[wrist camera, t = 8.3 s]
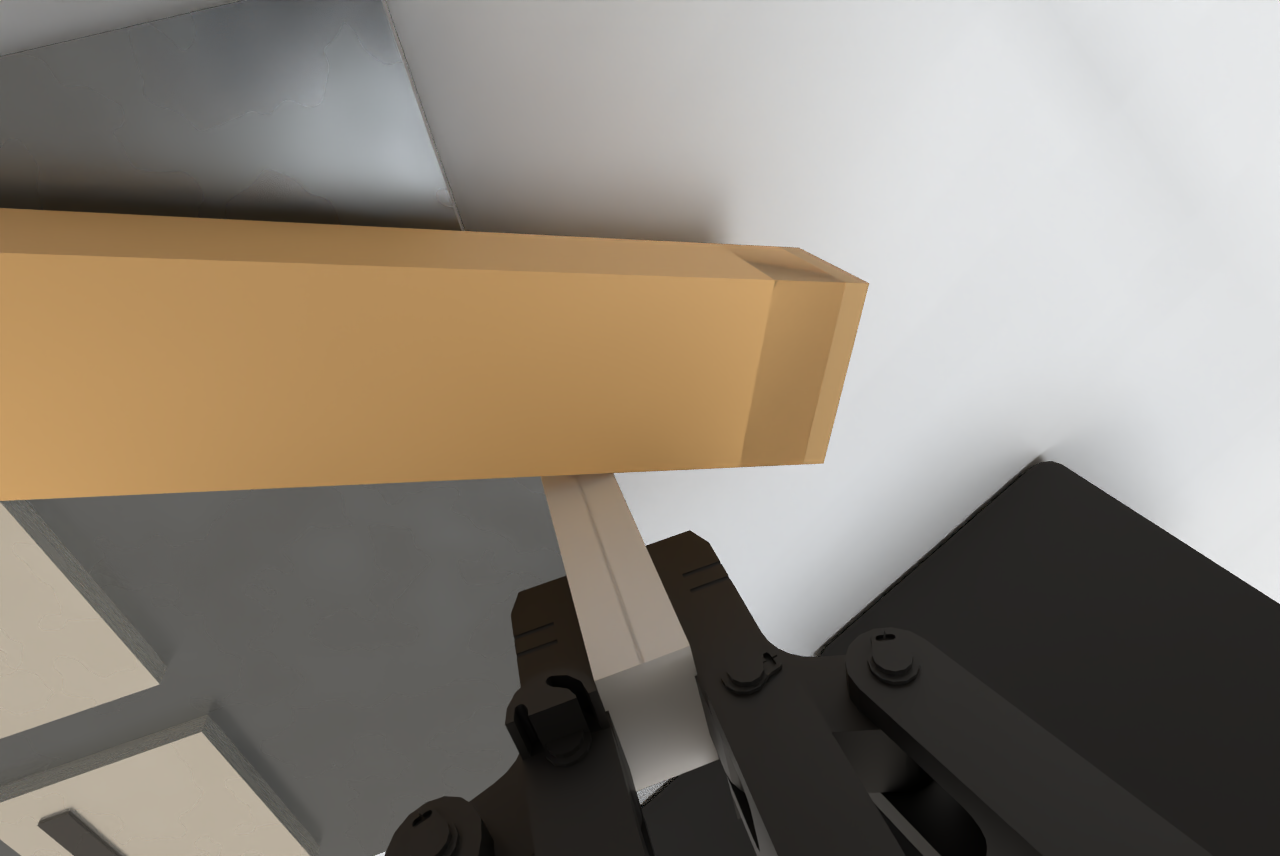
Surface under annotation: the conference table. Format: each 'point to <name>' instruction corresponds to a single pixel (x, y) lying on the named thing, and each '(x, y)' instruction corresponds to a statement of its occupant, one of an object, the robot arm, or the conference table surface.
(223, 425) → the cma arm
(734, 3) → the conference table surface
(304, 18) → the server board
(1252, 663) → the speaker
